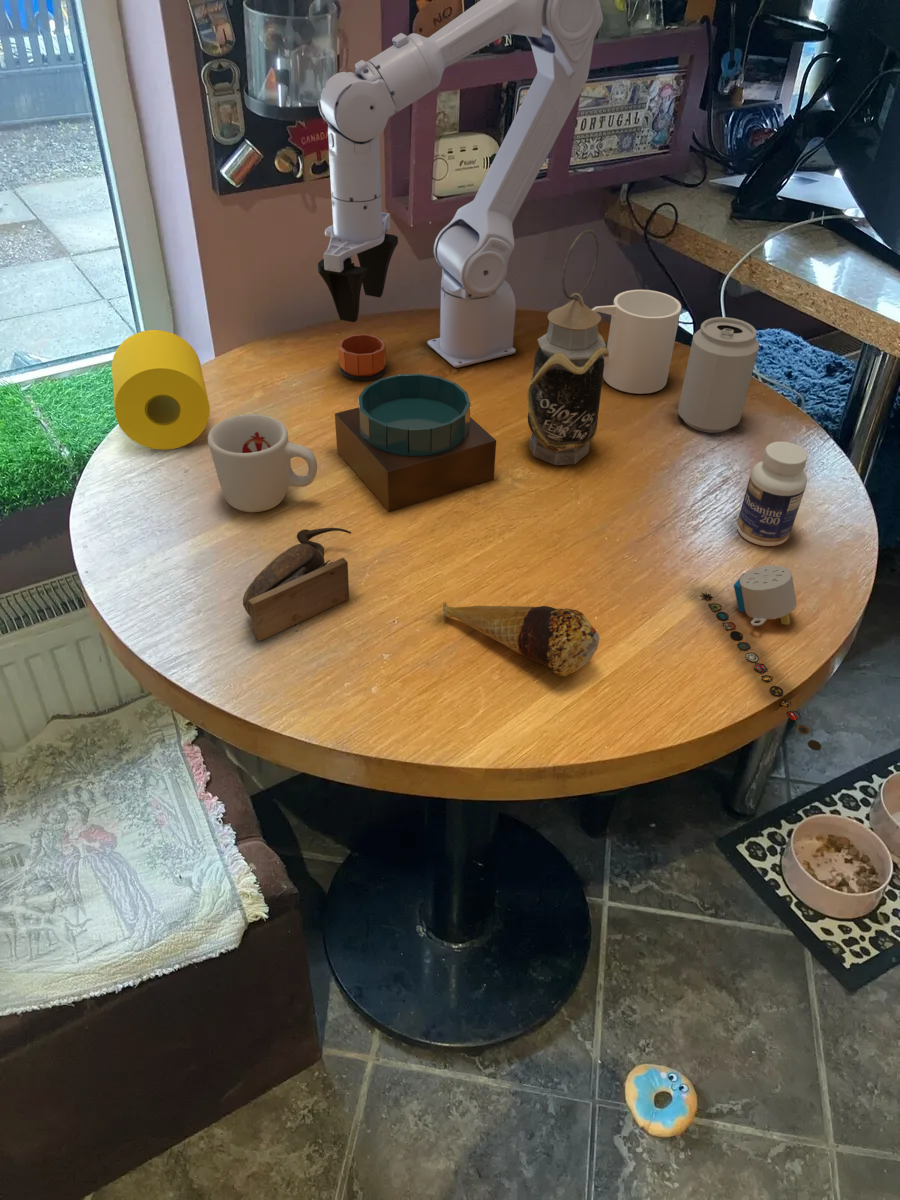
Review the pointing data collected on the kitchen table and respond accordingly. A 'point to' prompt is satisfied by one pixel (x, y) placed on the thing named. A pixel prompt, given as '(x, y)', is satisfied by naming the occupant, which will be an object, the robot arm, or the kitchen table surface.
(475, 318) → the robot arm
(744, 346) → the can
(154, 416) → the tape roll
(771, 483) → the pill bottle
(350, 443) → the stand
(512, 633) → the ice cream cone
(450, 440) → the big bowl
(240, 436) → the cup
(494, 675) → the kitchen table surface
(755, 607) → the electric motor
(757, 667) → the bead strand
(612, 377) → the cup
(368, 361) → the small bowl
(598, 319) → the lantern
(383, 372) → the coaster
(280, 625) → the figurine
